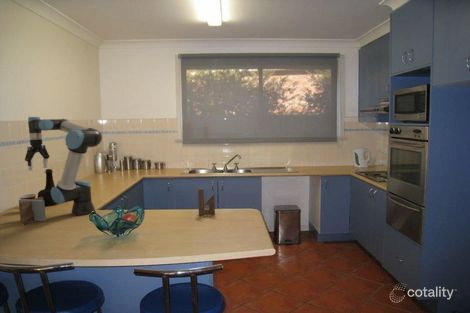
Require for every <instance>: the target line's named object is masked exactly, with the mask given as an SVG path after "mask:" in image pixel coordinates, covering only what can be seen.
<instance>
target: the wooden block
mask: <svg viewBox="0 0 470 313" xmlns="http://www.w3.org/2000/svg"><path fill="white" fill-rule="evenodd" d="M204 191H205V190H204V188H203V187H200V188H198V189H197V192H198V193H197V194H198V199H197V200H198V216H200V217H201V216H214V215H216V210H215V209H216V208H215V207H216V205H215V204H216V203H215V193H214V192H213V193H211V195H210V196H209V197H208V199H206V200H205V192H204ZM205 206H208V208H205Z"/></svg>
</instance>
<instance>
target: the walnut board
mask: <svg viewBox="0 0 470 313" xmlns="http://www.w3.org/2000/svg"><path fill="white" fill-rule="evenodd" d="M32 200H43V197H39V198H37V197H35V199H32ZM18 208H20V209H19V218H20V219H21V220H20V225H21V224H25V225H27V224H26V223H28V222H30V223H32V222H31V221H33V222H35V221H34V213H33V211H32V209H31V201H25V202H22V203H19V202H18ZM28 224H29V223H28Z"/></svg>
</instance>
